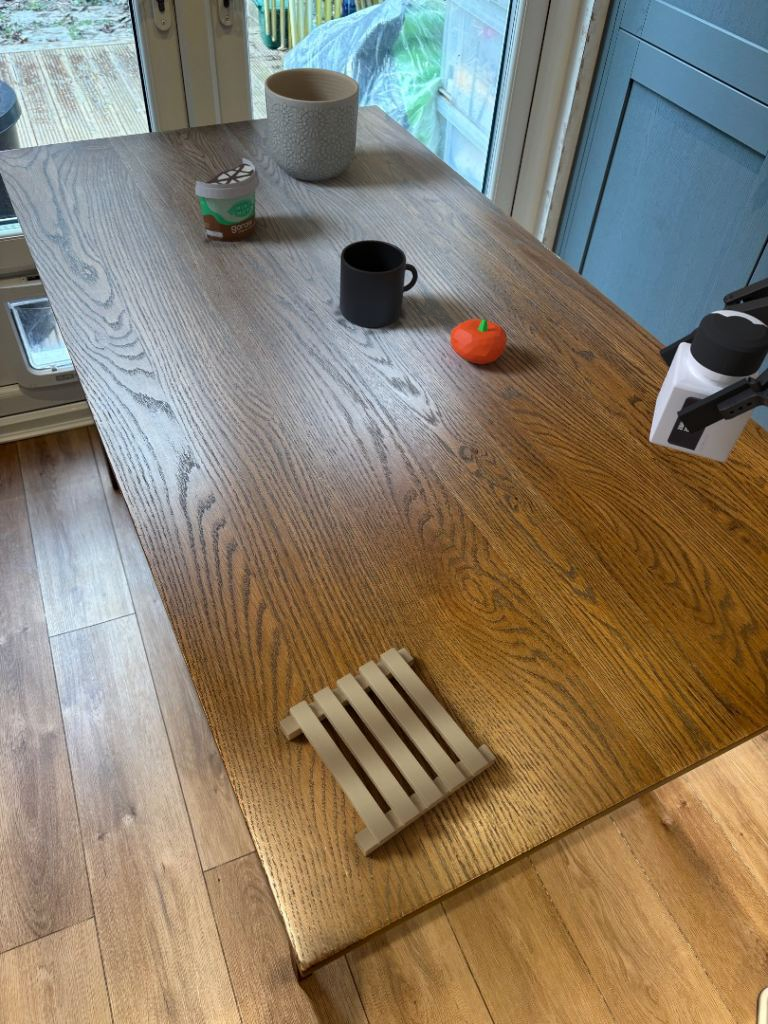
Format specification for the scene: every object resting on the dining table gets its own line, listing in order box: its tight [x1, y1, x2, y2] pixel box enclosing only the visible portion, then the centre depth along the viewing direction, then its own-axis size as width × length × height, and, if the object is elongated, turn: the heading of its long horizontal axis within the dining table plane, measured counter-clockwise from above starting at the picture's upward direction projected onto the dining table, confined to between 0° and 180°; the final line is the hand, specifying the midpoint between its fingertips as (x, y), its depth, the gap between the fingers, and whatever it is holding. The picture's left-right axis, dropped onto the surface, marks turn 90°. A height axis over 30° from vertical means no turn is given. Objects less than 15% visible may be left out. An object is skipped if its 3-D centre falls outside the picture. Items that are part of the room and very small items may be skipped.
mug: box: [339, 239, 419, 328], centre depth 111 cm, size 9×12×9 cm
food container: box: [194, 157, 260, 243], centre depth 124 cm, size 12×6×10 cm, turn 147°
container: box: [648, 309, 768, 463], centre depth 73 cm, size 8×8×13 cm
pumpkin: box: [449, 318, 508, 365], centre depth 105 cm, size 7×8×6 cm
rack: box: [279, 647, 497, 857], centre depth 67 cm, size 14×14×2 cm
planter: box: [264, 67, 360, 182], centre depth 140 cm, size 17×17×15 cm
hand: (674, 391), depth 75 cm, fingers closed on container, 9 cm apart
